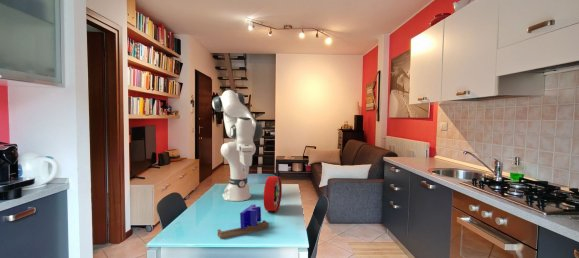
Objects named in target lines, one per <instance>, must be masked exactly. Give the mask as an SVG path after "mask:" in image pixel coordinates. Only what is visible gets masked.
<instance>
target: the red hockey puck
mask: <svg viewBox="0 0 579 258" xmlns="http://www.w3.org/2000/svg"><path fill="white" fill-rule="evenodd" d="M282 186H283V185H282V179H281V176H272V175H271V176H270V175H269V176H267V178H266V179H265V183H264V187H263V197H262V198H263V208H264V210H265V211H267V212H268V211H269V212H278V211H279V209H280V206H281V202H282V194H283V192H282V191H283V187H282Z"/></svg>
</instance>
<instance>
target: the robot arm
mask: <svg viewBox="0 0 579 258" xmlns="http://www.w3.org/2000/svg"><path fill="white" fill-rule="evenodd" d="M211 105H212V108H213V109H214V111H215V112H216V113H217V112H218V113H221V112H223V122H224V127H225V132H226V135H227V137H228V138H230V139H232V140H233V141H228V142H225V143H223V144H222V145H221V147H220V154H221V156H222V157H223V158H225V159H226V161H227V162H228V165H229V169H230V170H229V171H230V173H229V175H230V177H229V180H228V181H229V182H228V184H227V186H225V188H224V189H223V190H224V191H223V193H222V197H223V199H224V201H227V202H228V201H230V202H231V201H232V202H242V201H247V200H249V199H250V198H251V197H252V195H251V194H250V185H249V184H248V175H249V173H250V171H249V170H250V167H251V166H252V164H253V155H254V154H255V153H256V151H257V150H256V149H257V147H256V145H255V143H254V141H256V142H257V141H259V140H260V139H261V138H262V137H263V136H264V129H263V126H262V125H261V123H259V122H258V121H257V118H255V116H254V114H253V113H252V111H251V110H250V109H249V108H248V107H247V106H246V98H245V96H244V94H243V93H241V92H237V93H236V92H235V91H234V90H231V89H228V90H225V91H224V92H223V93H222V94H221V95H219V96H218V95H217V96H215V97H213V99H212V103H211Z"/></svg>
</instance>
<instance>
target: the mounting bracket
mask: <svg viewBox="0 0 579 258" xmlns="http://www.w3.org/2000/svg"><path fill="white" fill-rule="evenodd" d="M239 216H240V217H239V219H240V221H239V222H240V228H241V229H245V228H246V227H247V226H257V224H258V223H262V207H261V206H257V205H256V204H253V203H252V204H251V205H249V206H248V207H247V208H245V209H244V210H242V211H241V212H240V213H239Z"/></svg>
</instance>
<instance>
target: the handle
mask: <svg viewBox="0 0 579 258" xmlns="http://www.w3.org/2000/svg"><path fill="white" fill-rule="evenodd" d="M268 229H269V222H268V221H266V220H262V222H259V223H257V226H247V227H246V228H245V229H241V227H237V228H232V229H227V230H221V229H220V228H219V229H217V237H218V238H219V239H220V240H222V239H227V238H231V237H236V236H241V235H246V234H250V233H255V232H258V231H263V230H268Z"/></svg>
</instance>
